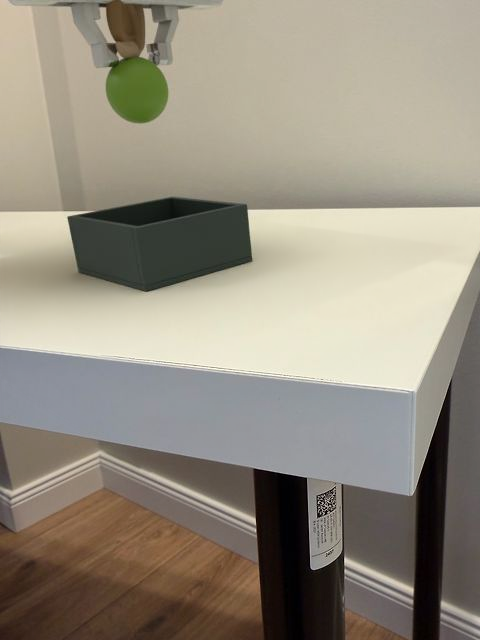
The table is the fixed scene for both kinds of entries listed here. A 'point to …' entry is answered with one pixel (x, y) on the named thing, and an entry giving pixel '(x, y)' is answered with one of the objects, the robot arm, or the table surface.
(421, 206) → the table surface
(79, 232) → the bin
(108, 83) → the snail figurine
